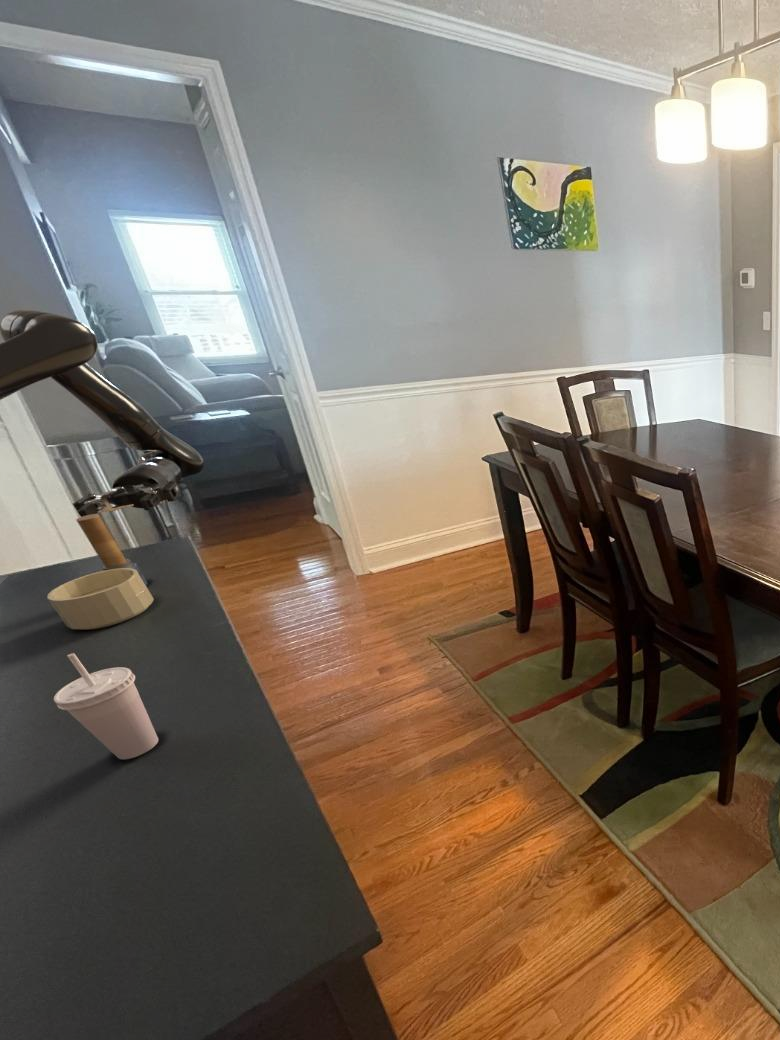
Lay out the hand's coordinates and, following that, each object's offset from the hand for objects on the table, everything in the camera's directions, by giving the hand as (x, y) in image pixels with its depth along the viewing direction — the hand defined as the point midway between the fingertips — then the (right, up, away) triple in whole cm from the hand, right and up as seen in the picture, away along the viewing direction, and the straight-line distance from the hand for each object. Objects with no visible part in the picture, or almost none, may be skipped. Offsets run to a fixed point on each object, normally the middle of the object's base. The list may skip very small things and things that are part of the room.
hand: (115, 510), depth 110 cm
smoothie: (+44, -32, -39) cm, 67 cm away
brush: (+5, -14, -2) cm, 15 cm away
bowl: (+11, -18, -10) cm, 24 cm away
